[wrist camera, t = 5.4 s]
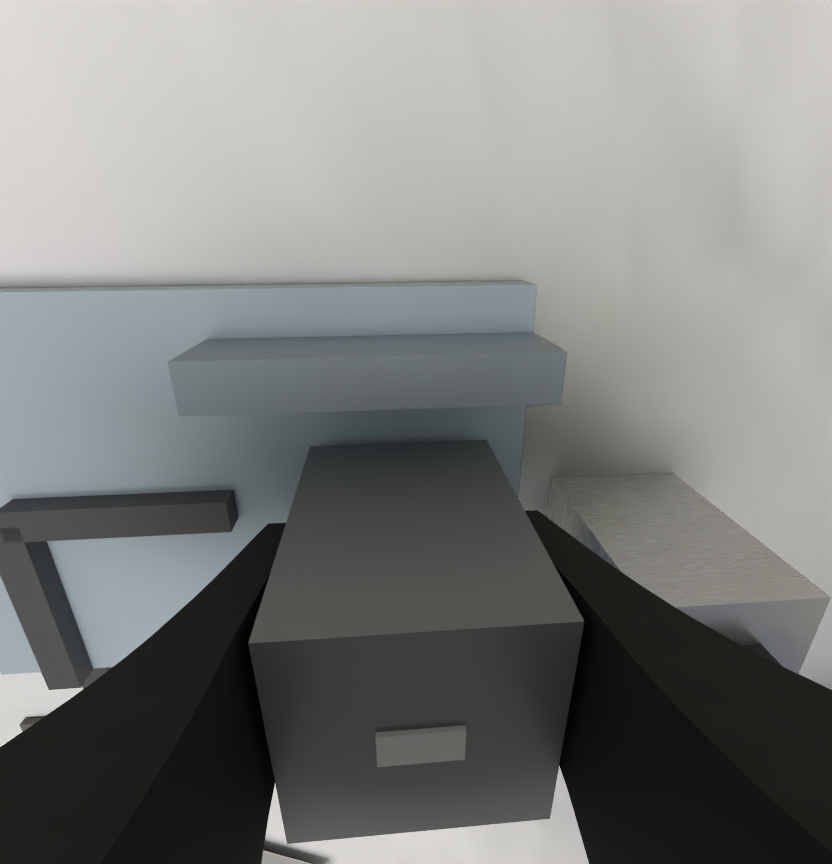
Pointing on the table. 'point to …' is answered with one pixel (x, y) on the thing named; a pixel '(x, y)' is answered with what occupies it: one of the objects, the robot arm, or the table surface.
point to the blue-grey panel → (218, 431)
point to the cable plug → (693, 559)
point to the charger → (412, 646)
